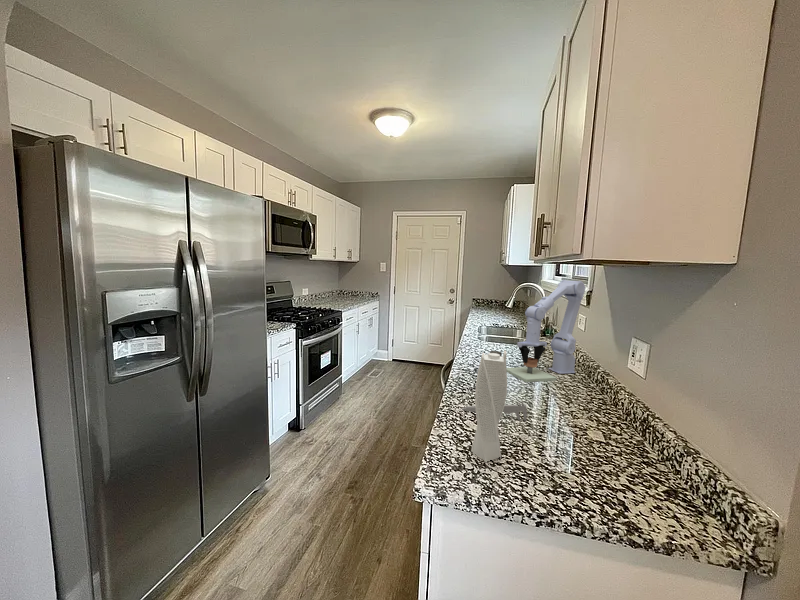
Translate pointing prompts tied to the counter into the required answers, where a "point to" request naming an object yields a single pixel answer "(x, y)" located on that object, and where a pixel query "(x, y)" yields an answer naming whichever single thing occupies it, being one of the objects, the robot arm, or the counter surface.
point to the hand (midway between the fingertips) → (530, 362)
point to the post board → (530, 374)
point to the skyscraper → (489, 405)
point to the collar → (531, 362)
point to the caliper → (506, 410)
